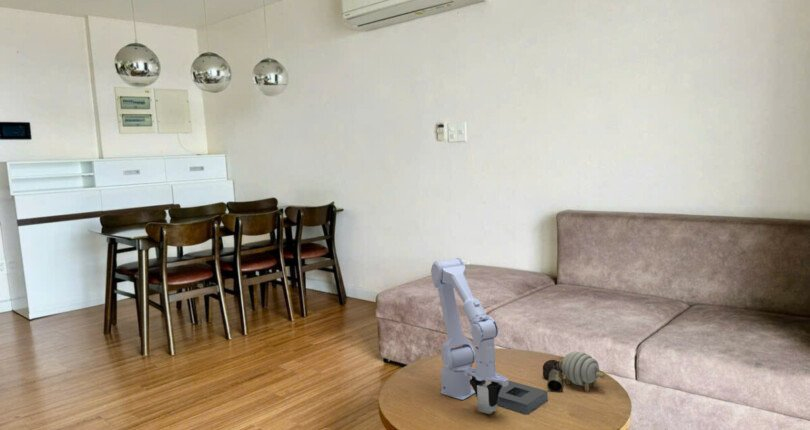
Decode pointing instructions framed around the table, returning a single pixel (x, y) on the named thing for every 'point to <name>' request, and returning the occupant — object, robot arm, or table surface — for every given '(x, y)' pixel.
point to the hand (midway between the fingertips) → (487, 403)
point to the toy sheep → (580, 369)
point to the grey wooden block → (484, 398)
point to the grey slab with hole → (521, 397)
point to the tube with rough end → (553, 375)
